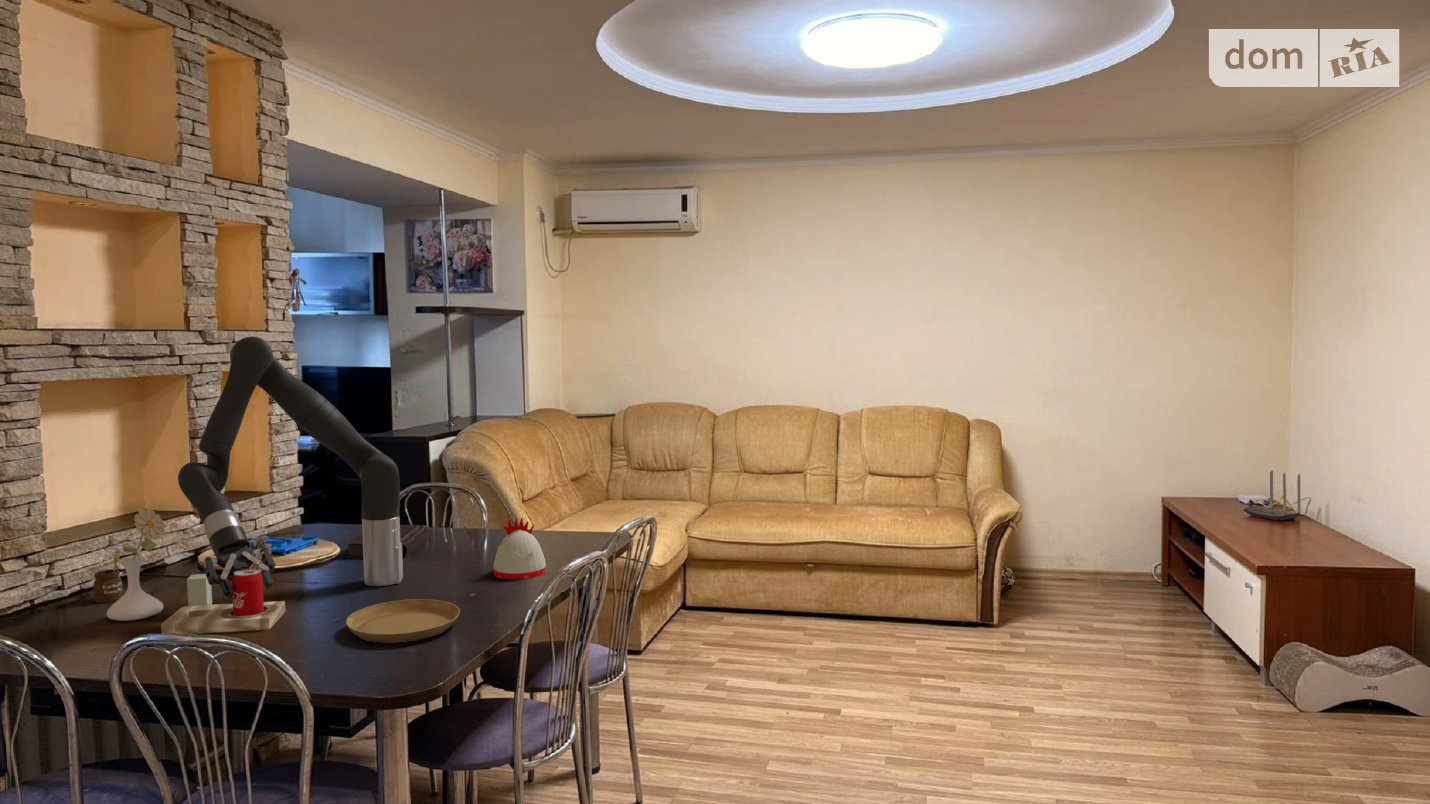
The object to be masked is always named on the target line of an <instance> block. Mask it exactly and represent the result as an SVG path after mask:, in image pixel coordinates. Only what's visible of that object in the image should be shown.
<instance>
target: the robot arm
mask: <svg viewBox="0 0 1430 804" xmlns="http://www.w3.org/2000/svg"><path fill="white" fill-rule="evenodd" d="M229 362H230V366H229V370H228V375H227V378H226V381H225V384H224V388H223V390H222V392H221V394H220V396H219V398H218V400H217V403H216V405H215V406H214V408H213V410H212V412H211V413H210V417H209V419H208V420H207V423H206V425H205V428H204V431H203V433H202V436H201V438H200V440H199V443H198V449H199V451H200V452H201V453H203V454H205V456H206V464H205V463H201V462H195V461H191V462H188V463H186V464H184V465H183V466H182V467H181V468H180V469H179V472H178V476H177V482H178V486H179V488H180V489H181V492H182V493H183V494H184V496H185V497H186V499H187V500H188V502H190V504H191V505H192V506H193V507H194V508H195V510H197V513H198V515H199V517H200V520H201V522H202V525H203V528H204V533H205V536H206V539H207V540H208V542H209V545H210V547H211V549H212V550H211V551H212V552H213V555H214V557H211V556H206V557H205V559H204V560H203V563H202V567H203V571H204V574H206V577H207V580H208V583H209V584H210V585H211V586H212V585H218V586H219V587H220V589H221V592H222V595H223V596H225V597H226V598H228V599H232V598H233V594H234V592H233V589H232V583H230V580H229V578H228V575H229V574H230V573H232V574H234V572H236V571H239V570H243V569H258V570H259V572H260V574H261V575H262V582H263V587H265V590H267V591H268V590H271V588H272V586H273V584H274V579H273V577H272V575H271V573H273V571H274V570H275V568H276V566H277V565H276V562H275V560H274V559H273V555H272V553H271V554H270V553H269V551H268V549H267V547H265V546H263V547H262V548H261V549H259V550H255V551H254V550H253V549H252V547H251V542H250V540H249V538H248V536H247V534H246V531H245V529H244V527H243V524H242V523H241V521H240V519H239V517H238V515H237V513H236V512H235V509H234V507H233V505H232V503H231V501H230V499H229V498H228V496H227V495H226V494H224V493H222V492H221V491H222V490H223V489H224V488H225V486H226V485H227V481H228V477H229V469H230V468H229V467H230V459H231V458H230V457H231V451H232V449H233V446H234V444H235V442H236V439H237V436H238V434H239V431H240V428H241V425H242V424H243V423H242V422H243V420H244V416H245V413H246V411H247V408H248V405H249V403H250V400H251V398H252V395H253V393H254V391H255V390H256V387H257V386H258V387H259V388H261V390H263V391H264V392H265V393H267V395H269V396H270V397H271V398H272V399H273V400H274V401H275V403H276V404H277V405H278V406H279V407H280V409H282V410H283V412H285V414H287V416H288V417H289V418H290V419H291V420H292V421H294V422H295V423H296V424H297V425H298V426H299V427H300V429H302V430H303V431H304V432H305V433H306V434H307V435H308V436H310V437H312V439H314V440H315V441H316V442H318V443H319V444H320V445H322V446H324V447H325V448H326V449H328V450H330V451H332V452H333V453H334V454H336V455H337V456H338V457H340V458H341V459H342V460H343V461H344V462H346V463H347V465H348V466H349V467H350V468H351V469H352V470H353V471H354V472H355V474H356V475H357V476H358V477H359V478H360V482H361V527H362V528H361V529H362V532H363V558H362V559H363V581H364V584H365V585H366V586H371V587H382V586H383V587H384V586H390V585H396V584H397V585H398V584H400V583H401V582H402V580H403V579H404V567H403V555H402V543H401V542H400V525H401V524H400V522H401V521H400V507H401V493H400V492H401V486H400V482H401V481H400V472H399V471H400V470H399V467H398V466H397V464H396V463H395V461H394V460H393V459H392V458H391V457H389V456H388V455H386V454H385V453H383V452H382V451H380V450H379V449H377V448H376V446H374V445H372V443H370V442H369V441H367V439H365V438H364V437H363V436H362V435H361V434H360V433H359V432H358V431H357V430H356V428H355V427H354V426H353V425H352V423H351V422H349V420H348V419H347V418H346V417H345V415H344V414H343V413H341V412H340V411H339V410H338V408H336V407H335V406H334V404H332V403H331V402H330V401H329V400H328V399H327V398H325V396H324V395H322V394H321V393H319V392H318V391H317V390H315V389H314V388H313V387H311V386H310V385H308V384H306V383H305V382H303V381H302V380H301V379H300V378H297V377H296V376H294V375H293V374H292V373H291V372H290V371H289V370H288V369H286V368H285V366H284V365H283V364H281V362H280V361H279V360H278V359H277V358H276V356H274V352H273V349H272V347H271V345H270V344H269V343H268V342H267V341H266V340H264V339H263V338H262V337H257V336H247V337H243V338H240V339H239V340H238V341H236V342H235V344H234V345H232V347H231V350H230V352H229ZM255 556H257V557H258V558H259V559H261V560H262V562H263V564H262V563H261V561H260V560H258V559H257V558H255ZM252 563H253V564H254V566H252ZM216 565H218V566H219V567H221V568H222V569H223V571H222V573H221V575H217V571H216V568H215V566H216Z"/></svg>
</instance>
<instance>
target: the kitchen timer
mask: <svg viewBox="0 0 1430 804" xmlns="http://www.w3.org/2000/svg"><path fill="white" fill-rule="evenodd" d="M514 519H515V520H514V523H513V525H512V522H511V520H510V518H508V519H507V526H506V525H505V524H504V523H502V526H503V528H504V530H505V532H506V536H505V537H504V538H503V539H502V541H501V543H499V545H498V547H496V553H495V559H494V561H493V576H494V577H496V578H499V579H501V580H504V579H505V580H527V579H533V578H537V577H540V576H543V575H544V574H545V573H546V572H547V565H546V564H547V563H546V559H545V555H544V553H543V550H542V547H541V545H540V544H539V542H538V540H537V538H536V537H535V536H534V535H533V534H532V532H533V530H534V527H535V526H534V525H533V524H532V525H531V527H530V529H528V527H529V521H526V523H525V524H524V521H523V520H524V519H523V517H521V518H520V521H519V525H518V520H517V518H514Z"/></svg>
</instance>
